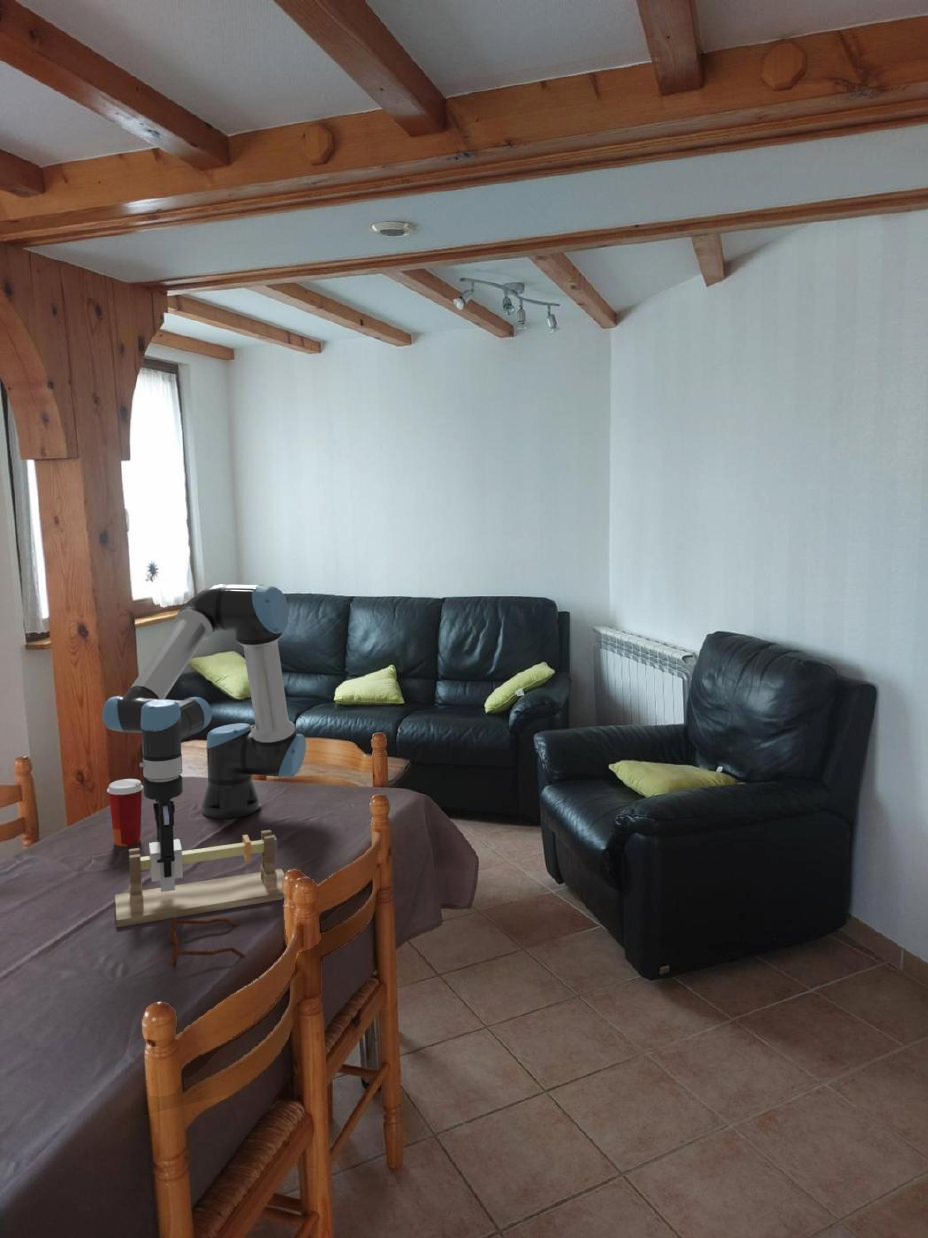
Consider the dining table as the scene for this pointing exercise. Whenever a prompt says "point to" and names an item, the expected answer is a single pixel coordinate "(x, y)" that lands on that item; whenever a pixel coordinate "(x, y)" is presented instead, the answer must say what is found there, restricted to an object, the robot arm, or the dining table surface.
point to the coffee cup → (126, 811)
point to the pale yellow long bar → (218, 852)
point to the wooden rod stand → (199, 891)
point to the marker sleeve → (155, 855)
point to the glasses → (176, 942)
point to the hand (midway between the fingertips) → (166, 883)
